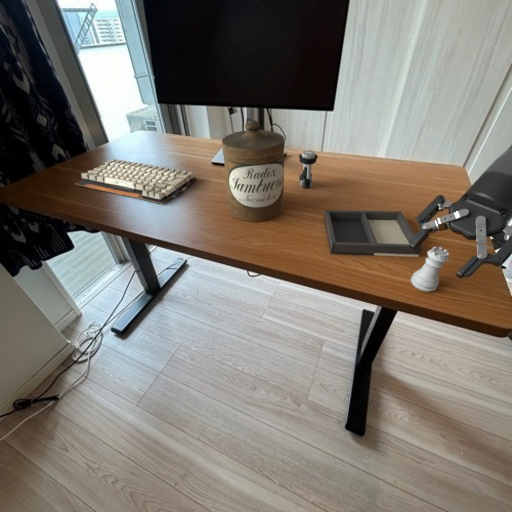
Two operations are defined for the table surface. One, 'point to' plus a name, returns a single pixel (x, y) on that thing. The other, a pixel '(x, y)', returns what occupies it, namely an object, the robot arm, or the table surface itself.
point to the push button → (307, 167)
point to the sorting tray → (369, 233)
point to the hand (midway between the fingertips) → (434, 261)
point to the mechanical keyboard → (137, 180)
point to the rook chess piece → (430, 270)
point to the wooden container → (254, 172)
